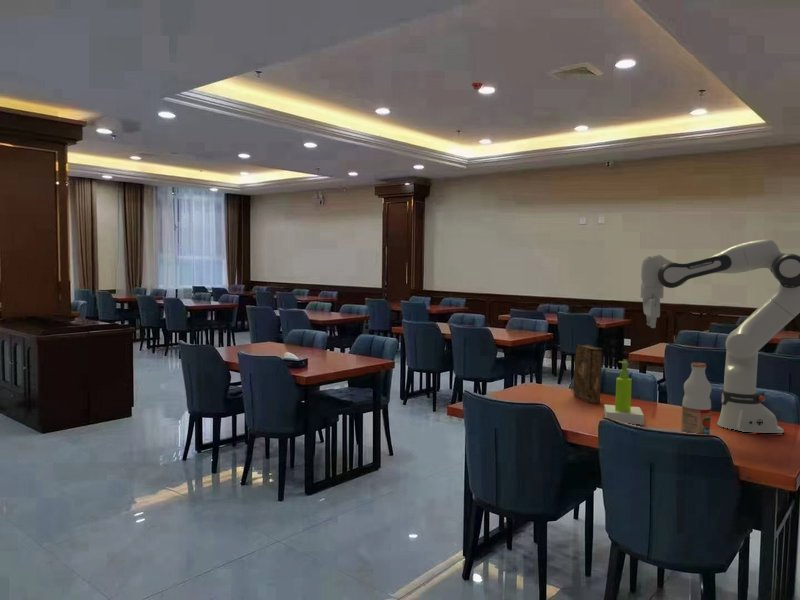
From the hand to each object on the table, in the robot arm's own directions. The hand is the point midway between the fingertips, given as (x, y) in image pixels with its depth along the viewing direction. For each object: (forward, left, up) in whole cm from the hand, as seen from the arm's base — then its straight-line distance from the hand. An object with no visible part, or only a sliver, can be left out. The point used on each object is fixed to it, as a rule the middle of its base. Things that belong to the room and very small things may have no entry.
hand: (651, 326), depth 251 cm
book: (+24, -21, -38) cm, 49 cm away
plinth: (+11, +12, -38) cm, 41 cm away
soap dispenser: (+11, +14, -34) cm, 38 cm away
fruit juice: (-12, +33, -38) cm, 52 cm away
